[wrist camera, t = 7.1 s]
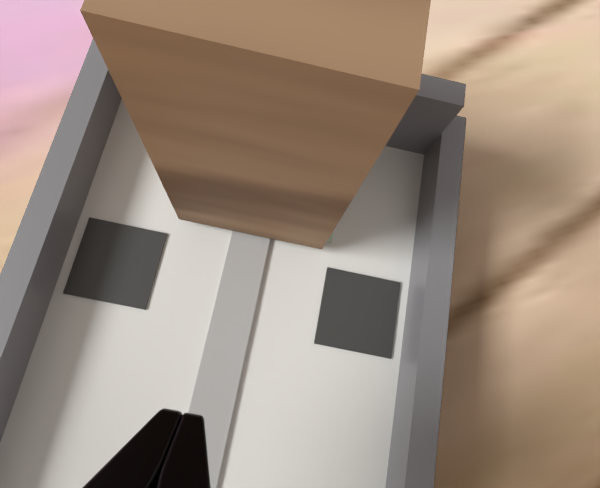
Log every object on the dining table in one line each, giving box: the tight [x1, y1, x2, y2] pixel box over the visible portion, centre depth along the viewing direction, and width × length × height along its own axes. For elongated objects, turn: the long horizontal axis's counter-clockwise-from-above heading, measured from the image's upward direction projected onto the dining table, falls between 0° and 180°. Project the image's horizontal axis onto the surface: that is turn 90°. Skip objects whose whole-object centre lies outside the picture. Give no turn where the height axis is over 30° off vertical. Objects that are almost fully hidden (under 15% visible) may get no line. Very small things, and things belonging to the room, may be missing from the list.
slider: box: [80, 0, 431, 249], centre depth 14 cm, size 5×6×11 cm
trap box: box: [0, 38, 466, 488], centre depth 16 cm, size 19×16×5 cm
